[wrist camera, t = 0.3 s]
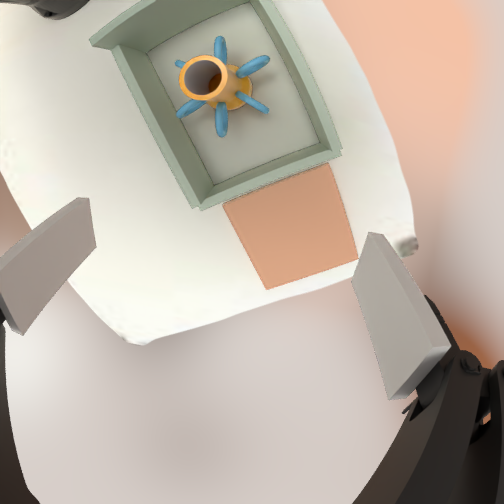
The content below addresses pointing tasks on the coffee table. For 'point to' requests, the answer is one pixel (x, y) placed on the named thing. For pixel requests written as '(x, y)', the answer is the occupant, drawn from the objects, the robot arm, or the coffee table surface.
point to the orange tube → (218, 84)
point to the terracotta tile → (293, 227)
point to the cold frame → (164, 114)
